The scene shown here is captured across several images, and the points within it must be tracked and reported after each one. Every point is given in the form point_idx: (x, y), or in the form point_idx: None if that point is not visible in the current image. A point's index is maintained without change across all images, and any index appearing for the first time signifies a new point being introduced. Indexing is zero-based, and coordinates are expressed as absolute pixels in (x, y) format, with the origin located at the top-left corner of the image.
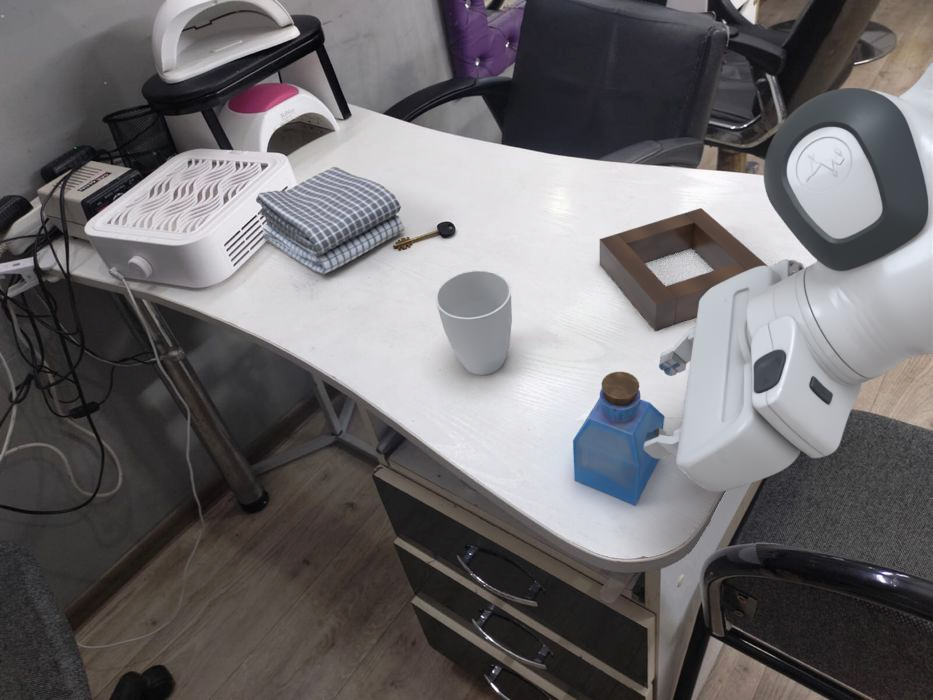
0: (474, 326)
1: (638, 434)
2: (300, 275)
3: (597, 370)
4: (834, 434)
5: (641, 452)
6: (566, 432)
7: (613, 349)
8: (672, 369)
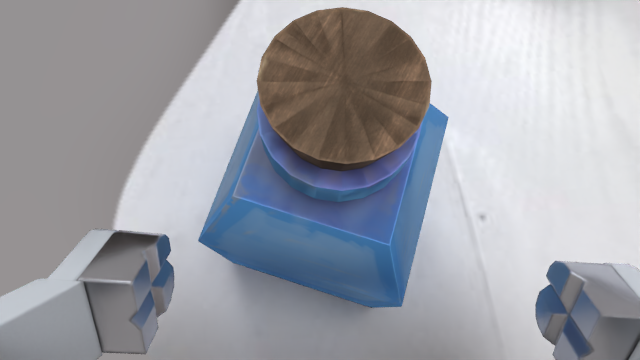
0: None
1: (259, 222)
2: None
3: (594, 145)
4: None
5: (235, 245)
6: None
7: None
8: (559, 321)
